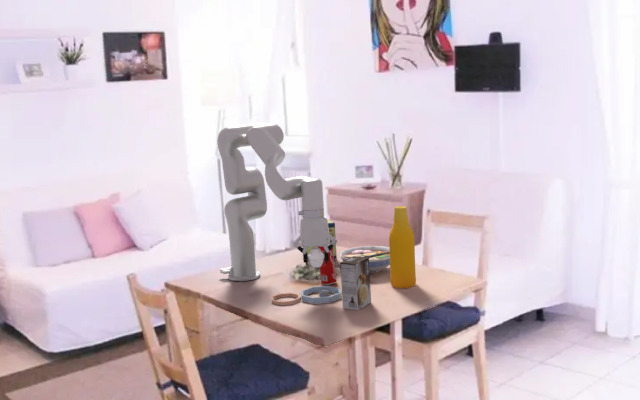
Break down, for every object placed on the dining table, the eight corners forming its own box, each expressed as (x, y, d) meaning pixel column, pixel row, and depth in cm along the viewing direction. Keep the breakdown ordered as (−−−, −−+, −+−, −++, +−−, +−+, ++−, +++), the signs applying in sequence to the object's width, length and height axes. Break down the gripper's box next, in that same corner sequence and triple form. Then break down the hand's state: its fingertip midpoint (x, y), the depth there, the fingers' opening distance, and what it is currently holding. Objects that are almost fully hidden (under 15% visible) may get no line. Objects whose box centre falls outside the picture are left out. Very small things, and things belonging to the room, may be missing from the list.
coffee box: (355, 300, 270) (353, 255, 267) (371, 302, 266) (369, 257, 263) (341, 308, 262) (339, 262, 259) (358, 310, 258) (356, 263, 256)
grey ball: (319, 301, 270) (319, 291, 269) (319, 298, 274) (318, 288, 273) (330, 301, 270) (329, 291, 270) (329, 298, 274) (328, 288, 273)
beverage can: (335, 285, 289) (333, 246, 286) (317, 285, 290) (315, 246, 287) (337, 280, 294) (335, 242, 292) (321, 280, 296) (318, 242, 293)
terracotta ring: (271, 305, 269) (271, 302, 268) (271, 297, 278) (271, 294, 278) (300, 303, 269) (300, 300, 269) (299, 295, 279) (299, 292, 279)
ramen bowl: (378, 259, 322) (377, 240, 320) (412, 270, 302) (412, 250, 301) (327, 270, 309) (326, 250, 308) (359, 283, 290) (358, 261, 288)
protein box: (313, 262, 324) (311, 225, 321) (302, 254, 338) (300, 219, 335) (337, 259, 327) (335, 222, 324) (325, 251, 341) (323, 216, 339)
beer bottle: (404, 280, 291) (401, 203, 286) (421, 284, 283) (418, 206, 278) (385, 285, 286) (382, 207, 280) (402, 290, 278) (399, 210, 273)
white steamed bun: (324, 263, 279) (323, 244, 278) (325, 267, 273) (324, 248, 272) (307, 264, 279) (306, 245, 277) (307, 269, 273) (306, 249, 271)
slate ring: (302, 304, 268) (301, 298, 268) (301, 292, 282) (300, 287, 281) (342, 301, 269) (341, 296, 268) (339, 290, 282) (338, 284, 282)
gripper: (288, 217, 268) (292, 268, 272) (338, 214, 269) (341, 264, 272) (288, 213, 276) (291, 262, 279) (337, 210, 277) (339, 259, 280)
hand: (316, 263), depth 276 cm, fingers closed on white steamed bun, 6 cm apart
